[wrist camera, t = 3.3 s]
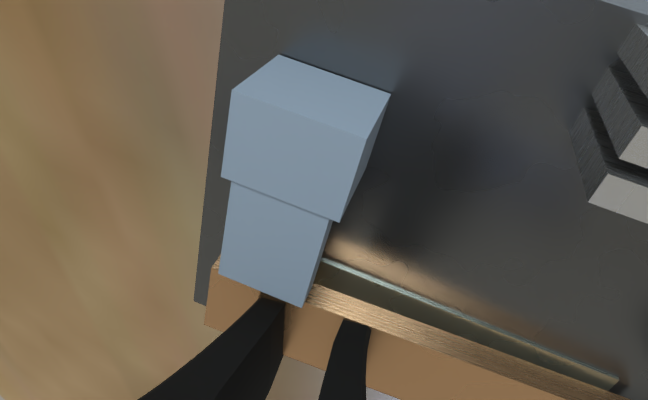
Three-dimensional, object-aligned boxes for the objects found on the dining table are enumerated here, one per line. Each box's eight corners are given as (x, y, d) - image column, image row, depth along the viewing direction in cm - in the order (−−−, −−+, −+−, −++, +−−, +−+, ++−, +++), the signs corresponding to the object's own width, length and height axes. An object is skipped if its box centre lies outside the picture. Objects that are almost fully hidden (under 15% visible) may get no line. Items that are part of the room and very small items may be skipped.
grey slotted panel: (1017, 114, 8) (1400, 286, 5) (634, 429, 15) (676, 602, 11) (279, -114, 10) (153, -114, 6) (223, 260, 16) (145, 365, 13)
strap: (715, 425, 11) (730, 458, 11) (651, 471, 13) (660, 503, 12) (225, 245, 12) (210, 266, 12) (215, 307, 14) (202, 328, 13)
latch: (390, 94, 9) (366, 139, 8) (336, 253, 12) (309, 313, 10) (278, 54, 10) (231, 89, 8) (249, 219, 12) (209, 271, 11)
